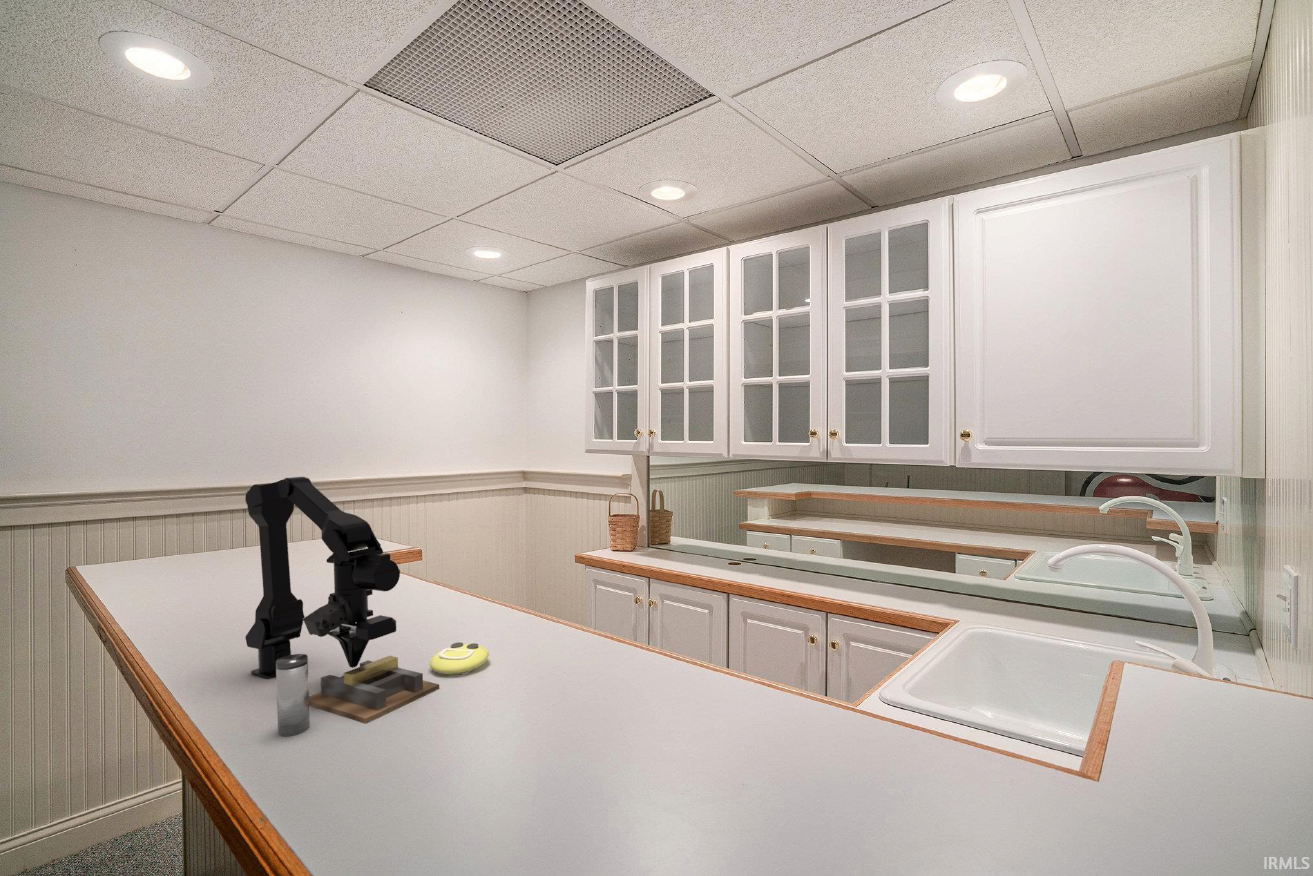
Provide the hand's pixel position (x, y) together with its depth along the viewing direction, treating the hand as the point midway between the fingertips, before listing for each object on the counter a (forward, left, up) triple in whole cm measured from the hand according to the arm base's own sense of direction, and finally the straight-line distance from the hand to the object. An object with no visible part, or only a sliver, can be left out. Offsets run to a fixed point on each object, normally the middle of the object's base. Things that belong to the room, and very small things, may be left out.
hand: (353, 666), depth 121 cm
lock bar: (+5, 0, -1) cm, 5 cm away
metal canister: (+5, -15, -5) cm, 17 cm away
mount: (+5, 0, -5) cm, 7 cm away
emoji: (+9, +18, -5) cm, 21 cm away
